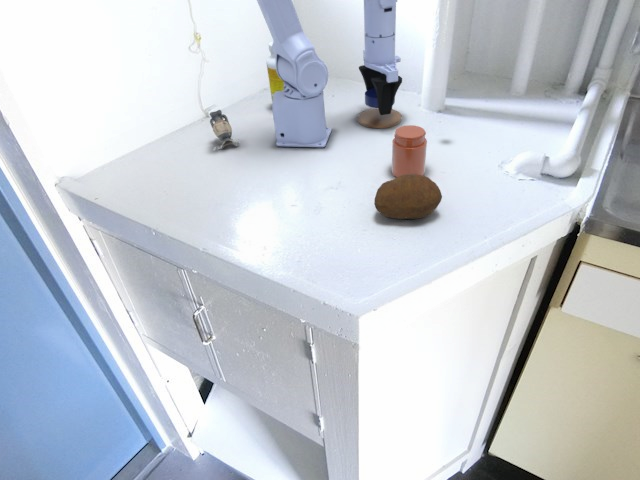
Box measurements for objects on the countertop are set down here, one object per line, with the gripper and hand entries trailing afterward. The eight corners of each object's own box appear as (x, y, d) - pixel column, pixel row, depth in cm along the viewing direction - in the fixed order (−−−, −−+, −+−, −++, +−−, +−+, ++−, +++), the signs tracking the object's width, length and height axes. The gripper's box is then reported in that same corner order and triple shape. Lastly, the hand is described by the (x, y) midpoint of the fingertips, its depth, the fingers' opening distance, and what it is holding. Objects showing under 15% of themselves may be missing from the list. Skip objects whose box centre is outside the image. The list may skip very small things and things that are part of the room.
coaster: (355, 128, 94) (355, 125, 94) (360, 110, 101) (360, 107, 100) (400, 128, 93) (400, 125, 92) (402, 111, 99) (402, 108, 99)
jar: (390, 179, 78) (391, 138, 73) (392, 163, 82) (393, 124, 77) (424, 180, 78) (427, 139, 73) (424, 164, 82) (427, 124, 77)
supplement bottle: (301, 112, 101) (294, 47, 92) (271, 113, 101) (261, 48, 93) (304, 100, 106) (297, 37, 97) (275, 101, 106) (266, 39, 97)
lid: (401, 103, 94) (401, 93, 93) (377, 110, 91) (377, 100, 90) (381, 94, 97) (382, 85, 96) (358, 102, 95) (358, 92, 94)
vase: (210, 140, 92) (202, 109, 88) (237, 135, 93) (230, 105, 89) (212, 151, 89) (204, 120, 85) (241, 147, 90) (234, 115, 86)
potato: (370, 205, 72) (370, 168, 68) (432, 199, 73) (435, 161, 69) (378, 229, 68) (378, 191, 63) (444, 222, 68) (448, 183, 64)
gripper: (415, 40, 81) (411, 118, 91) (386, 22, 92) (386, 93, 101) (377, 46, 80) (377, 124, 89) (352, 26, 90) (355, 98, 100)
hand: (379, 108), depth 95 cm, fingers closed on lid, 6 cm apart
